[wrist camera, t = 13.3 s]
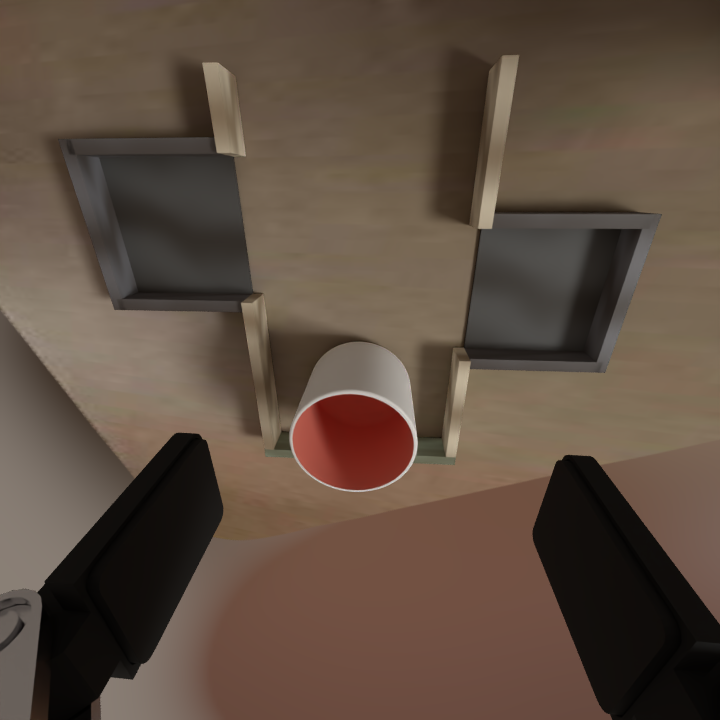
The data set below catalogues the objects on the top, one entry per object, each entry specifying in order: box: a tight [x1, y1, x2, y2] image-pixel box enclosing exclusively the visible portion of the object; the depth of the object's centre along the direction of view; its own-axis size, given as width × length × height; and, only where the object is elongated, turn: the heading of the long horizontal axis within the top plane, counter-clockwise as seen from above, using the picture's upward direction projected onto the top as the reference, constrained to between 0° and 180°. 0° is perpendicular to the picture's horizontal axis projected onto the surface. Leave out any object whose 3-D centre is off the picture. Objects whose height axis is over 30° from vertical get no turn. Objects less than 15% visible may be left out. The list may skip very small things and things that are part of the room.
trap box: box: [58, 55, 662, 465], centre depth 30 cm, size 33×44×3 cm
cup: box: [289, 342, 418, 492], centre depth 31 cm, size 10×10×10 cm
